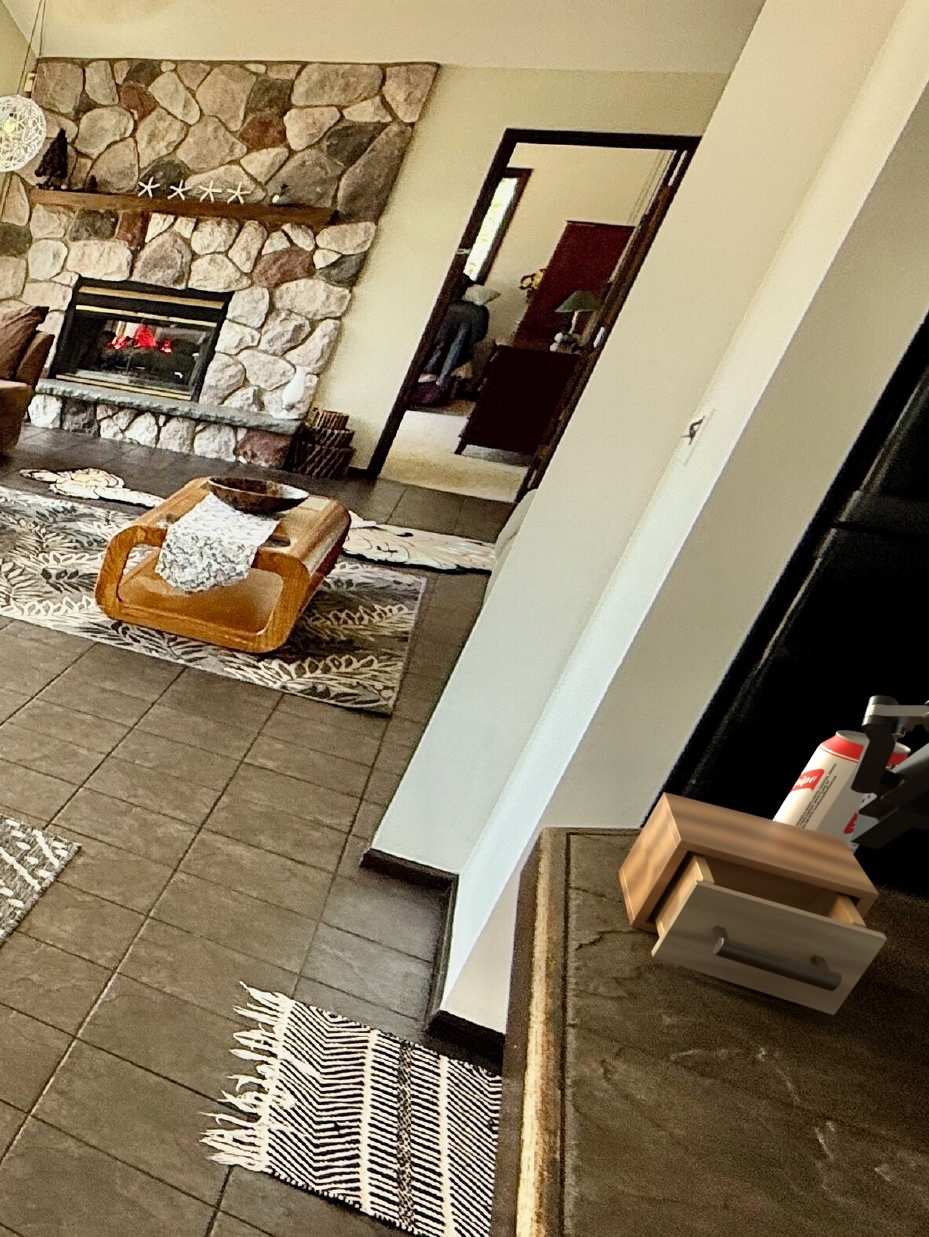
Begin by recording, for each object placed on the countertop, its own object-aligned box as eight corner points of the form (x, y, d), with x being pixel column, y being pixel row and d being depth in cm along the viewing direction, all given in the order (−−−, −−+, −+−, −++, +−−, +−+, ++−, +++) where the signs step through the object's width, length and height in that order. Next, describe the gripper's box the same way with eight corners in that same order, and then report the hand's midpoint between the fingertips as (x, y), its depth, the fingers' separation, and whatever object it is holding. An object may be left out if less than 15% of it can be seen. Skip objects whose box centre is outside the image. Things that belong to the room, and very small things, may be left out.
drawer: (847, 1042, 96) (903, 964, 93) (658, 980, 102) (704, 905, 99) (803, 951, 109) (851, 880, 106) (638, 901, 116) (678, 833, 112)
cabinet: (818, 984, 105) (879, 894, 102) (630, 926, 113) (680, 839, 109) (788, 922, 116) (843, 838, 112) (618, 872, 123) (663, 791, 119)
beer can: (835, 881, 125) (923, 747, 119) (825, 896, 122) (915, 758, 115) (753, 854, 130) (833, 723, 123) (741, 868, 126) (823, 734, 120)
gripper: (912, 704, 76) (739, 840, 95) (1241, 772, 69) (983, 906, 87) (939, 611, 78) (763, 763, 97) (1263, 668, 71) (1005, 821, 89)
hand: (868, 830), depth 92 cm, fingers closed
